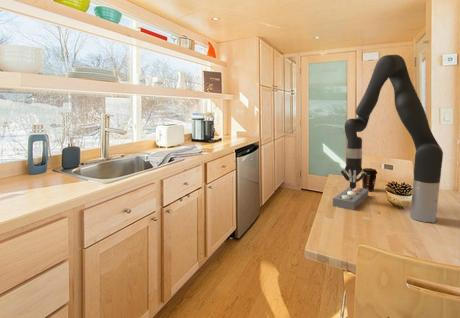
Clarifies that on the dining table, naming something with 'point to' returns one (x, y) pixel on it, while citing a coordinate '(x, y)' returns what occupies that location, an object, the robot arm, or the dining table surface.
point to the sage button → (346, 197)
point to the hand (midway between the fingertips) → (352, 188)
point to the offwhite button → (351, 193)
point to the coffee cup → (369, 179)
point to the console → (354, 199)
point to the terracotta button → (357, 189)
